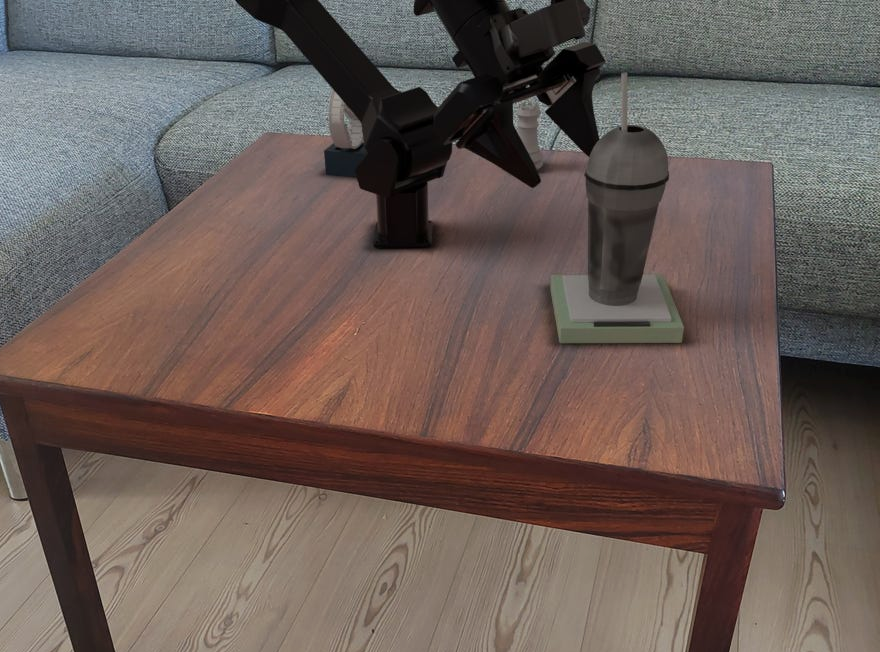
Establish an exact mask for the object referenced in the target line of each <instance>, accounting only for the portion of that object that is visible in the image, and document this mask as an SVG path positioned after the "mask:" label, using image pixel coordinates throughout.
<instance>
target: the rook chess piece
mask: <svg viewBox="0 0 880 652" xmlns="http://www.w3.org/2000/svg"><path fill="white" fill-rule="evenodd" d="M541 114H542V110H541V109H540V104H539V103H538V102H533V101H527V104H526V102H525V101H523V102H522V101H521V102H520V103H519V104H518V108H517V109H516V111H515V115H516V116H517V118H518V122H517V123H516V126H517V132H518V134H519V136H520V138H521V140H522V142H523V144H524V146H525V148H526V149H527V151H528V153H529V155H530V157H531V159H532V161H533V163H534V165H535V167H536V169H537V171H540V170H541V169H542V168H543V166H544V163H543V161H542V160H543V158H544V155H543V153H542V152H541V148H540V146H539V141H538V127H539V125H540V124H539V122H538V119H539V117H540V115H541Z"/></svg>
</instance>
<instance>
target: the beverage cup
mask: <svg viewBox="0 0 880 652" xmlns="http://www.w3.org/2000/svg"><path fill="white" fill-rule="evenodd" d="M620 77H621V78H620V79H621V80H620V82H621V83H620V85H621V87H620V89H621V90H620V91H621V93H620V94H621V95H620V96H621V97H620V98H621V99H620V100H621V101H620V102H621V103H620V105H621V107H620V109H621V119H620V120H621V124H620V126H616V127H614V128H612V129H611V130H609V131H607V132H606V133H604V135H602V136H601V137H599V139H600V140H599V141H598V142H597V143H596V145H595V146H594V148H593V150H592V152H591V154H590V157H588V160H587V164H586V168H585V171H584V174H583V176H584V177H585V192H586V198H587V205H588V206H587V275H588V280H589V296H590V298H591V299H592V300H594V301H595V302H598V303H600V304H604V305H611V306H621V305H626V304H630V303H632V302H634V301H635V300H636V299H637V292H638V290H639V286H640V284H641V280H642V276H643V274H644V271H645V266H646V262H647V257H648V253H649V248H650V245H651V240H652V236H653V231H654V226H655V223H656V219H657V213H658V210H659V205H660V203H661V202H662V199H663V197H664V194H665V190H666V185H667V182H669V180H670V172H669V158H668V153H667V149H666V147H665V145H664V143H663V142H662V140H661V139H660V138H659V137H658V136H657V134H656V133H655V132H654V131H652V130H650V129H649V128H647V127H645V126H642V125H637V124H628V72H621V75H620Z"/></svg>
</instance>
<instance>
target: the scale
mask: <svg viewBox="0 0 880 652" xmlns="http://www.w3.org/2000/svg"><path fill="white" fill-rule="evenodd" d="M549 288H550V295H551V300H552V301H551V302H552V307H553V313H554V318H555V324H556V331H557V337H558V343H559V344H674V343H675V344H682V342H683V338H684V331H685V326H684V323H683V321H682V319H681V316H680V313H679V311H678V307H677V306H676V303H675V300H674V298H673V296H672V293H671V291H670V287H669V285H668V283H667V280H666V279H665V276H664V274H663V273H643V276H642V280H641V284H640V286H639V290H638V292H637V299H636V300H635V301H634V302H632V303H630V304H626V305H621V306H611V305H604V304H600V303H598V302H595V301H594V300H592V299H591V298H590V296H589V280H588V274H551V275H550V287H549Z"/></svg>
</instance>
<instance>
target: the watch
mask: <svg viewBox="0 0 880 652" xmlns="http://www.w3.org/2000/svg"><path fill="white" fill-rule="evenodd" d="M327 114H328V123H327V125H328V126H327V127H328V130H329V135H330V137H331V140H332V144H330V145H329V146H328V147H326V148H325V149H324V150H323V155H324V168H325V175H328V176H338V177H349V178H357V177H356V173H355V168H356V167H357V166H358V165H359V163H360V162H361V161H362V160H363V159H364V157H365V156H366V155H367V154H368V152H367V151H366V149H365V147H364V141H363V133H362V125H361V122H360V121H359V119H358V118H357V117H356V116H355V115H354V113H353V112H352V111H351V110H350V109H349V107H348V106H347V105H346V104H345V103H344V102H343V100H342V99H341V98H340V97H339V96H338V95H337V93H336V92H335V91H334V90H333V89H332V90H331V93H330V97H329V102H328V113H327ZM345 118H346V119H347V120H349V127H348V124H347V123H346V122H345Z"/></svg>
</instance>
